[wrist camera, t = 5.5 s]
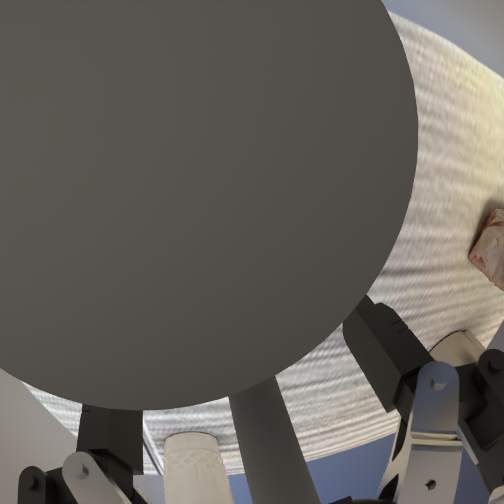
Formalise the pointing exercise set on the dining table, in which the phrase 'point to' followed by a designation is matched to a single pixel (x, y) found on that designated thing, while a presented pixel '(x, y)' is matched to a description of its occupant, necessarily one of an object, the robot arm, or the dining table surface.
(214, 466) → the white cup
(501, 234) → the food item
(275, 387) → the dark grey cylinder rod
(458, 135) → the dining table surface
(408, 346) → the robot arm
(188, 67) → the dark grey post
